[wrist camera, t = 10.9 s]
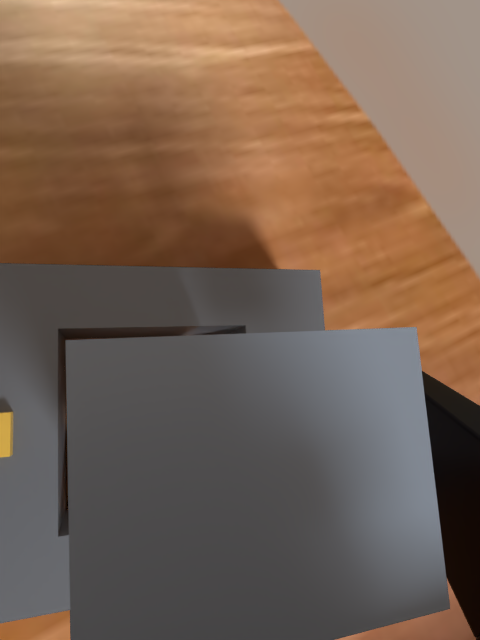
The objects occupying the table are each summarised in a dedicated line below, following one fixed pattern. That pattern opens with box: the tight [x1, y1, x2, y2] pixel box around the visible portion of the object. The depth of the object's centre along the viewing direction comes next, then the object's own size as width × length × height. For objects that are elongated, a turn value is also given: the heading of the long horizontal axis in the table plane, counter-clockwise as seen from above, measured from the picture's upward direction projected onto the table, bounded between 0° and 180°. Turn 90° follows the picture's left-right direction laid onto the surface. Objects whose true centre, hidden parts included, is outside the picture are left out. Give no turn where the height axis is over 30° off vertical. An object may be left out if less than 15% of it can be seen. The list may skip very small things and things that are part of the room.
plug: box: [65, 327, 450, 640], centre depth 11 cm, size 3×4×13 cm
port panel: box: [0, 263, 325, 623], centre depth 15 cm, size 10×12×3 cm
